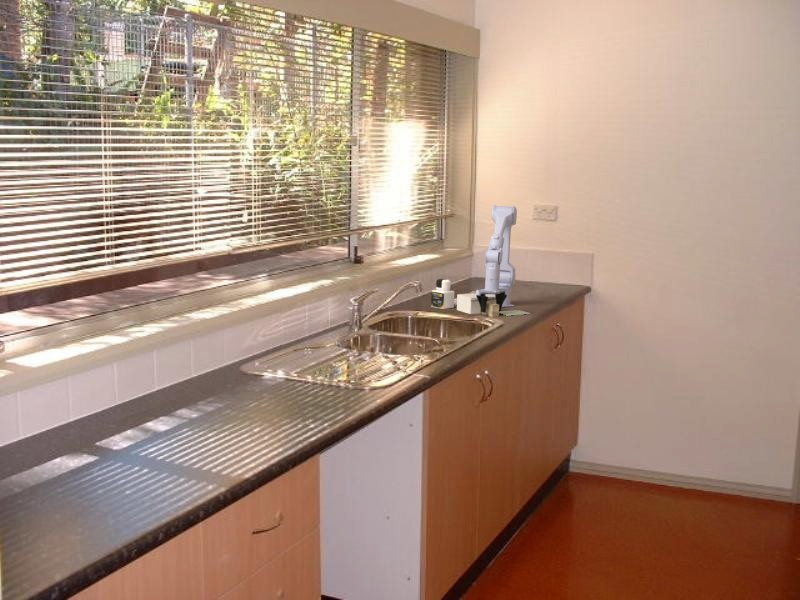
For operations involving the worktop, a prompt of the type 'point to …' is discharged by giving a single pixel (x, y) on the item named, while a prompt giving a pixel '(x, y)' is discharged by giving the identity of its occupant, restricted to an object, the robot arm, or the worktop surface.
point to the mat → (513, 312)
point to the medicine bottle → (442, 295)
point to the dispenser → (471, 302)
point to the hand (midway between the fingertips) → (490, 311)
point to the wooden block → (491, 309)
